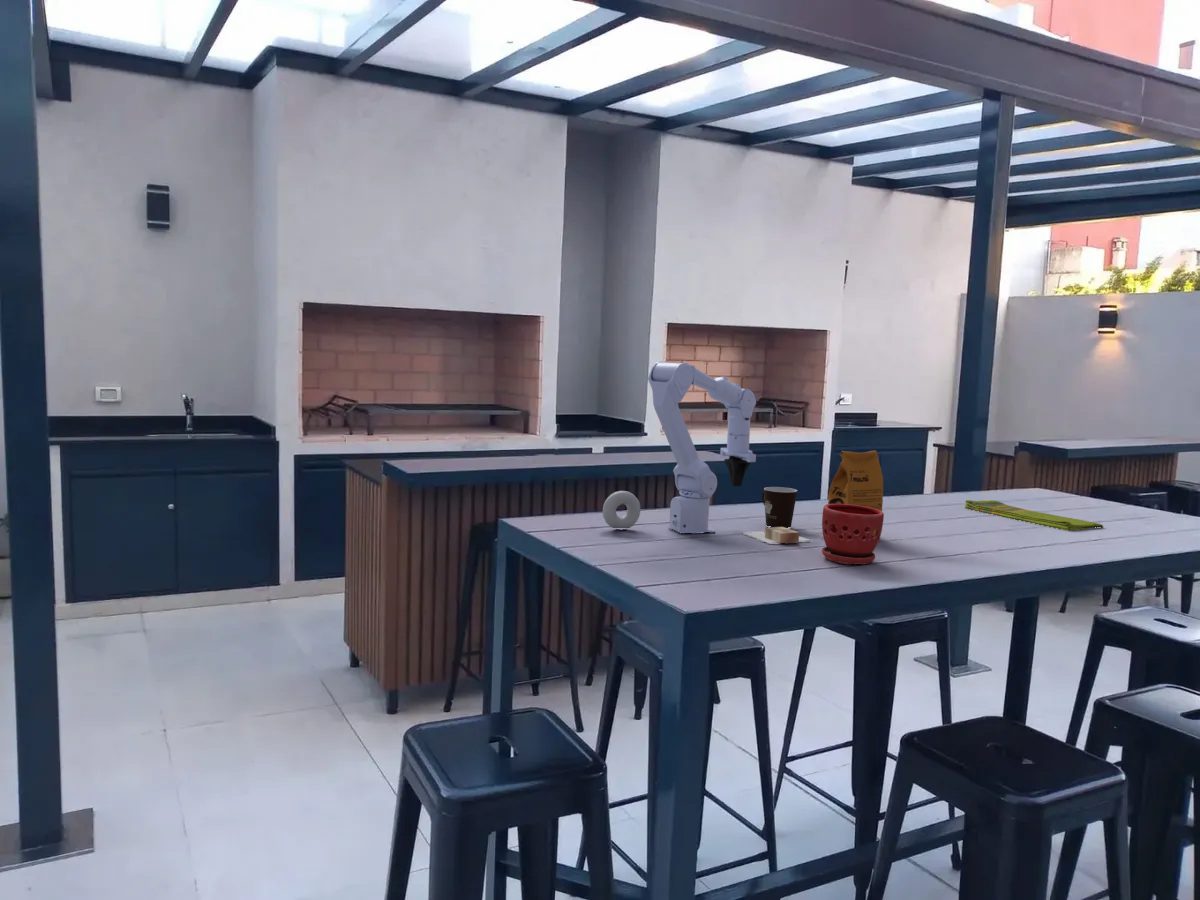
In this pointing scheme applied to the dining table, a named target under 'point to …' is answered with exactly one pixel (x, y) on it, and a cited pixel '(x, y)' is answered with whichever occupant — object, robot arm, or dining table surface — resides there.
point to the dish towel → (1029, 515)
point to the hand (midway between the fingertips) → (736, 485)
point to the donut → (614, 502)
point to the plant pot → (851, 533)
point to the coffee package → (858, 481)
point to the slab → (781, 535)
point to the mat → (762, 537)
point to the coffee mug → (779, 506)
